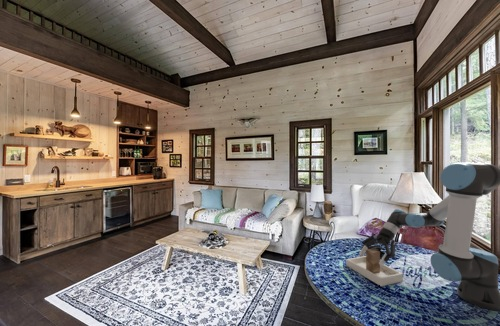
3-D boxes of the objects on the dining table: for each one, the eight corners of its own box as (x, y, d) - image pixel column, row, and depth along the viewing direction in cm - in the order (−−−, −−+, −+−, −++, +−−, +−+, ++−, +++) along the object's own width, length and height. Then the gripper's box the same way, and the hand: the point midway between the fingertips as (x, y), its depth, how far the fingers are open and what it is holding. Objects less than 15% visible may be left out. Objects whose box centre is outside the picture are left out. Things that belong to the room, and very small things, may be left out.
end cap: (376, 252, 153) (376, 243, 153) (385, 256, 146) (385, 247, 146) (365, 255, 149) (365, 245, 149) (374, 259, 142) (374, 249, 142)
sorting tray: (402, 281, 116) (402, 273, 116) (381, 286, 110) (380, 278, 110) (366, 261, 138) (366, 255, 138) (346, 265, 133) (346, 259, 133)
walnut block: (379, 272, 123) (379, 251, 123) (373, 273, 121) (373, 252, 121) (372, 268, 128) (372, 248, 128) (366, 269, 126) (366, 249, 126)
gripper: (413, 242, 118) (393, 274, 113) (374, 229, 141) (356, 255, 136) (406, 234, 116) (386, 265, 111) (367, 222, 140) (349, 248, 135)
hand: (369, 260), depth 124 cm, fingers open, 13 cm apart
